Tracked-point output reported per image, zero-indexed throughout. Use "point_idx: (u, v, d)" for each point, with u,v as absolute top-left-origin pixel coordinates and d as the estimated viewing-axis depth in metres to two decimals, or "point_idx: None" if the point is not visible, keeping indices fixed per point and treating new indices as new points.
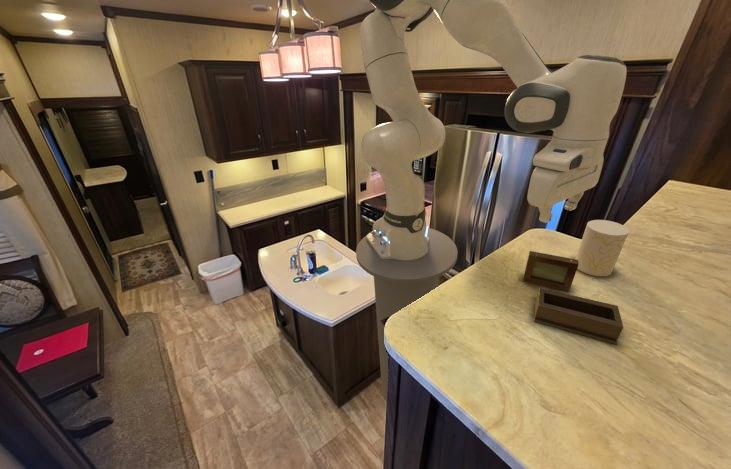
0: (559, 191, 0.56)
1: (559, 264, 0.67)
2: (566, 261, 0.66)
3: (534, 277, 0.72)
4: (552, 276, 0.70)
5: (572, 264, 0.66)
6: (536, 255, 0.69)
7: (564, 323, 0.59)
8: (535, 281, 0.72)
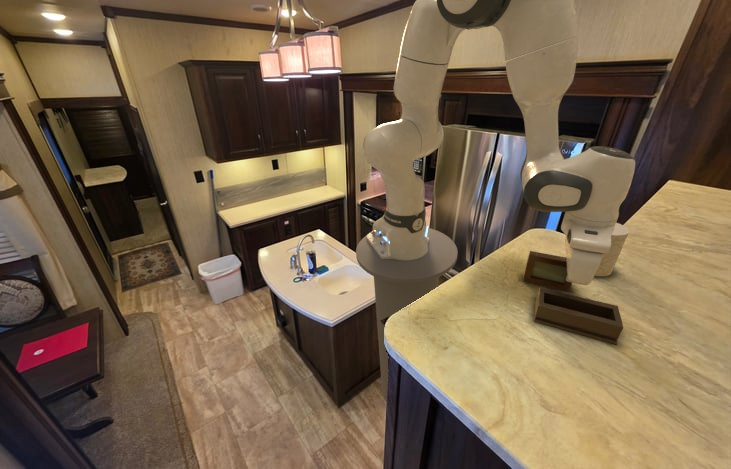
0: None
1: (559, 264, 0.67)
2: (566, 261, 0.66)
3: (534, 277, 0.72)
4: (552, 276, 0.70)
5: None
6: (536, 255, 0.69)
7: (564, 323, 0.59)
8: (535, 281, 0.72)
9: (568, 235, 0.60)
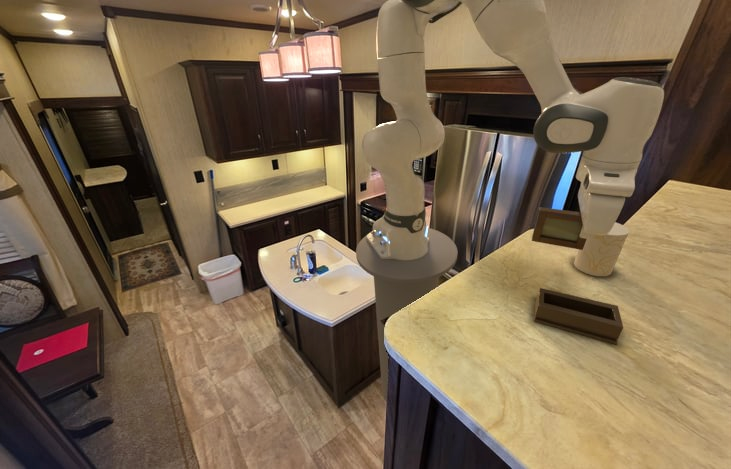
0: None
1: (572, 219, 0.62)
2: (580, 215, 0.61)
3: (544, 236, 0.67)
4: (564, 234, 0.65)
5: None
6: (547, 211, 0.64)
7: (564, 323, 0.59)
8: (545, 241, 0.66)
9: (585, 181, 0.54)
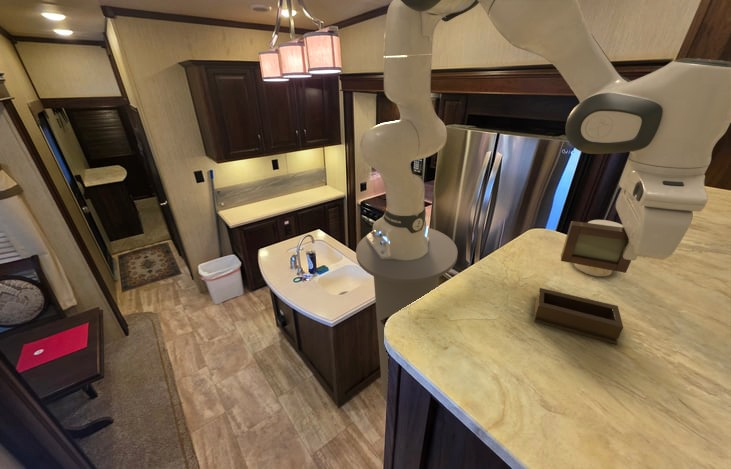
0: None
1: (614, 236, 0.50)
2: (624, 232, 0.49)
3: (577, 255, 0.55)
4: (602, 254, 0.53)
5: None
6: (581, 225, 0.52)
7: (564, 323, 0.59)
8: (578, 261, 0.55)
9: (635, 191, 0.43)
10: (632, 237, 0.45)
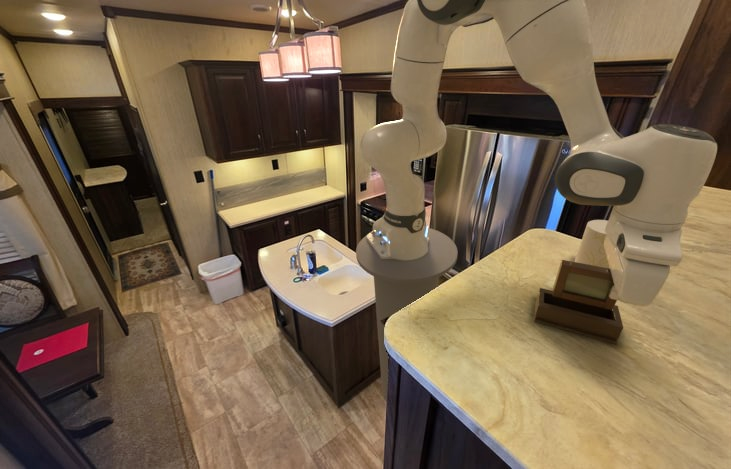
0: None
1: (601, 277, 0.54)
2: (610, 273, 0.53)
3: (567, 291, 0.59)
4: (591, 291, 0.57)
5: None
6: (571, 265, 0.56)
7: (564, 323, 0.59)
8: (568, 297, 0.59)
9: (619, 241, 0.46)
10: (616, 282, 0.48)
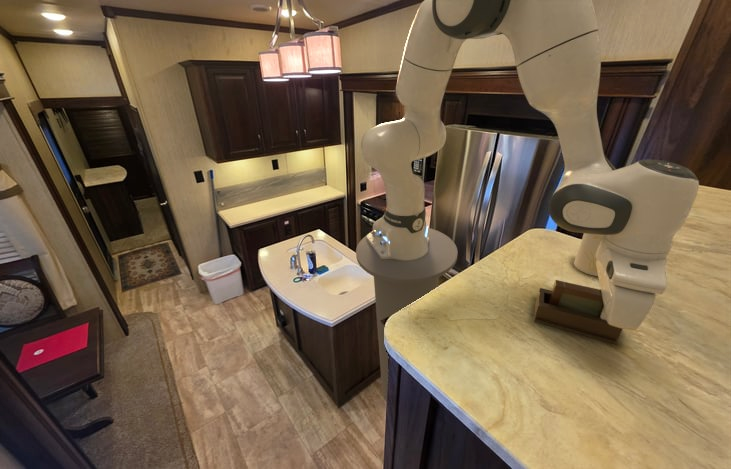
0: None
1: (592, 298, 0.56)
2: (601, 295, 0.55)
3: None
4: (583, 310, 0.59)
5: None
6: (564, 286, 0.58)
7: (564, 323, 0.59)
8: None
9: (608, 268, 0.49)
10: (606, 305, 0.51)
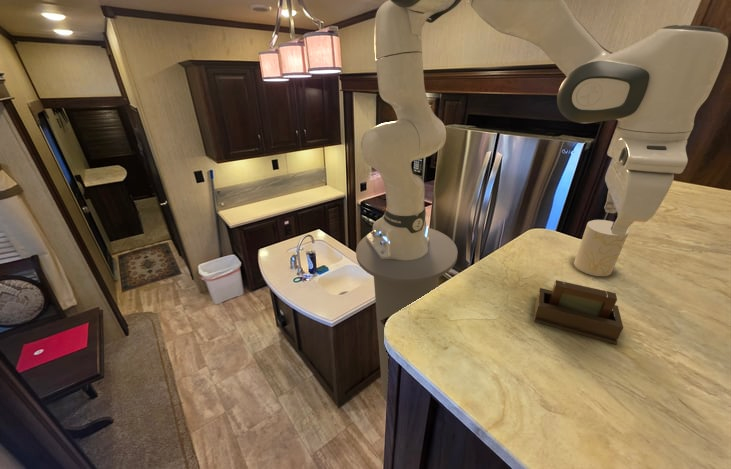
0: None
1: (592, 298, 0.56)
2: (601, 295, 0.55)
3: None
4: (583, 311, 0.59)
5: (609, 299, 0.55)
6: (564, 286, 0.58)
7: (564, 323, 0.59)
8: None
9: (621, 157, 0.45)
10: (617, 202, 0.47)
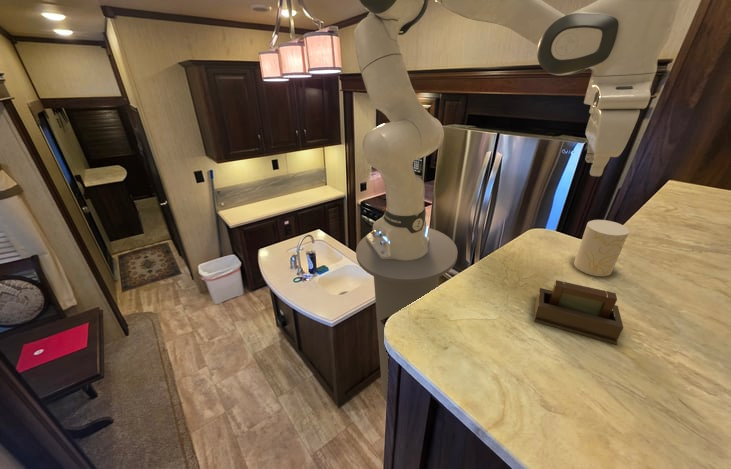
0: None
1: (592, 298, 0.56)
2: (601, 295, 0.55)
3: None
4: (583, 311, 0.59)
5: (609, 299, 0.55)
6: (564, 286, 0.58)
7: (564, 323, 0.59)
8: None
9: (595, 100, 0.50)
10: (593, 144, 0.52)
